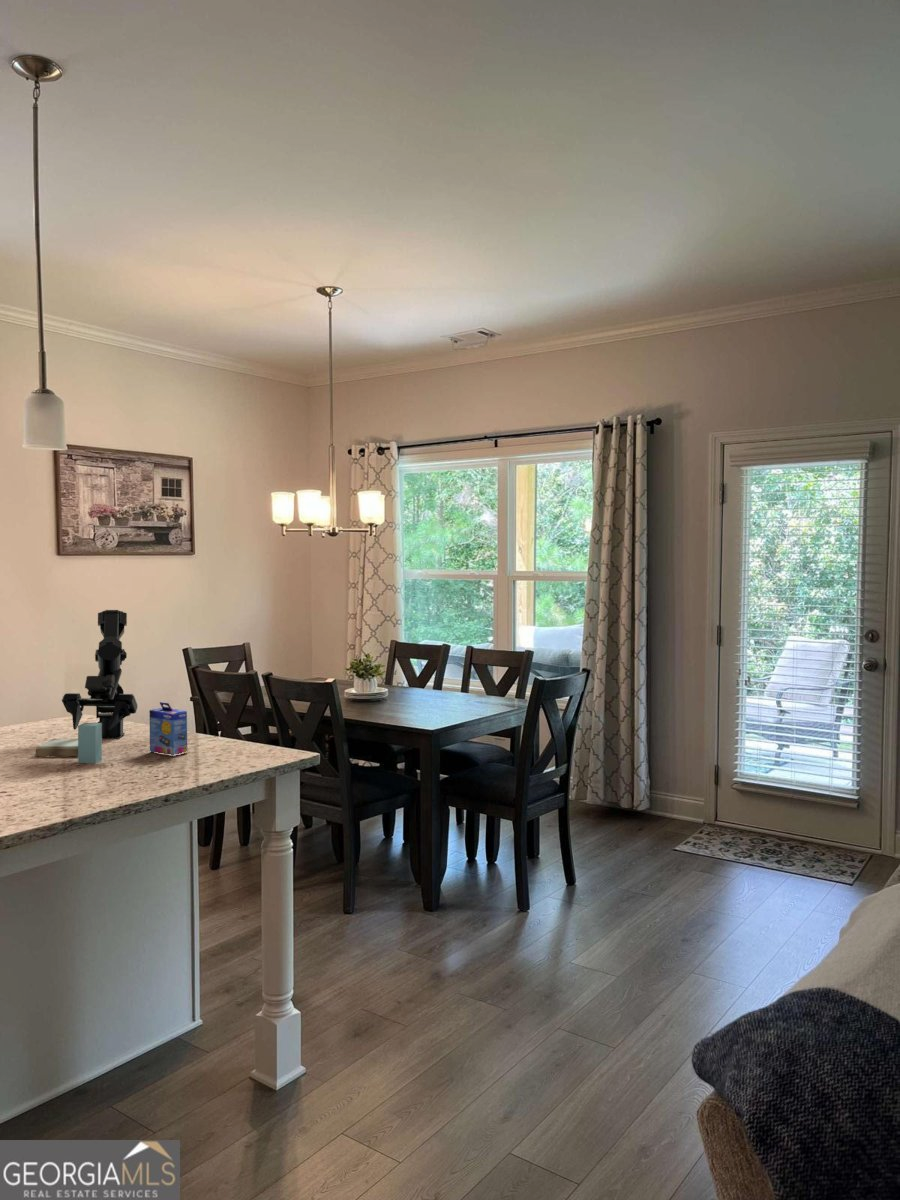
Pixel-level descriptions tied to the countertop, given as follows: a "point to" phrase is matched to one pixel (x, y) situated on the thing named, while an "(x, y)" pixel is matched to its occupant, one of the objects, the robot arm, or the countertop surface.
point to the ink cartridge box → (168, 730)
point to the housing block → (89, 742)
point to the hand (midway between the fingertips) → (91, 728)
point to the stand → (58, 748)
